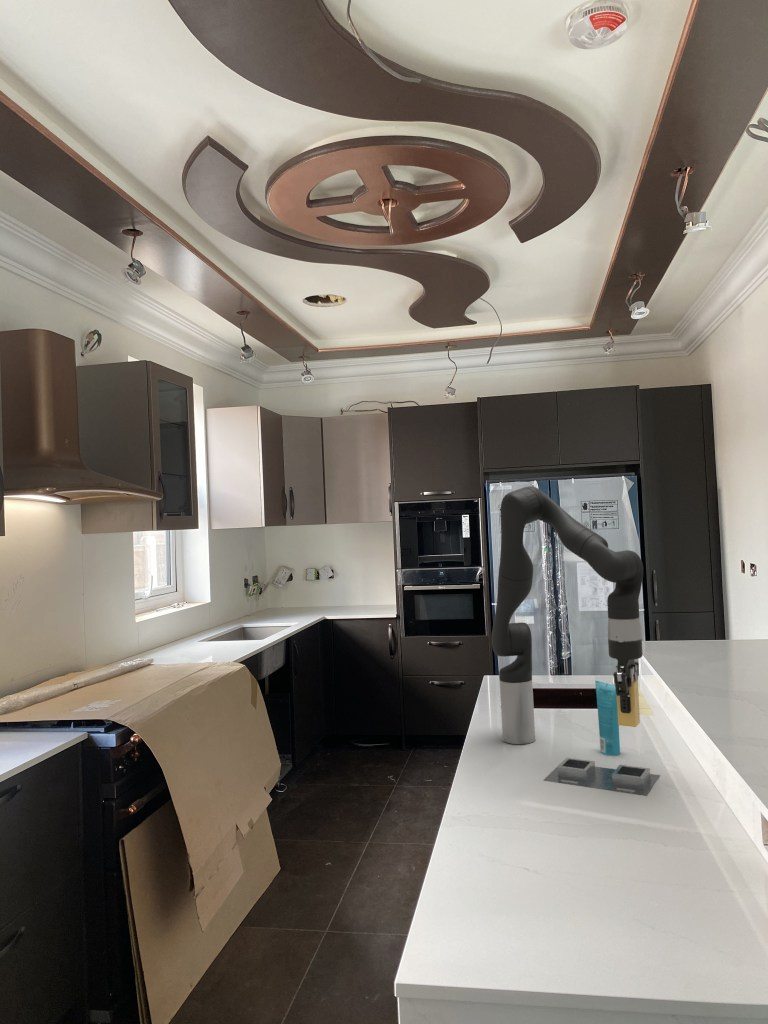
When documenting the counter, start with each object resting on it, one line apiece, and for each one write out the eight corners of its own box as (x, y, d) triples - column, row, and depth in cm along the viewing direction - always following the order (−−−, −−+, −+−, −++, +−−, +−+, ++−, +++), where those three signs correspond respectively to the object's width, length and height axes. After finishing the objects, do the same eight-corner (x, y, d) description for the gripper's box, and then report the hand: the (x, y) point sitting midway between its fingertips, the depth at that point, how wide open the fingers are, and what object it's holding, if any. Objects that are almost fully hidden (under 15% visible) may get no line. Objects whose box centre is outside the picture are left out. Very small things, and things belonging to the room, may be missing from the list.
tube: (628, 757, 194) (624, 683, 194) (617, 761, 191) (613, 686, 191) (603, 750, 200) (599, 679, 200) (592, 755, 197) (588, 682, 197)
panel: (562, 765, 190) (561, 752, 190) (660, 779, 178) (659, 764, 178) (543, 784, 178) (542, 769, 178) (647, 800, 166) (646, 784, 166)
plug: (622, 720, 177) (620, 675, 177) (639, 722, 175) (637, 676, 175) (618, 725, 174) (615, 678, 174) (635, 727, 172) (633, 680, 172)
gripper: (616, 630, 182) (619, 701, 183) (600, 641, 170) (603, 716, 170) (648, 632, 178) (651, 703, 179) (633, 643, 166) (637, 720, 166)
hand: (628, 709), depth 175 cm, fingers closed on plug, 4 cm apart
